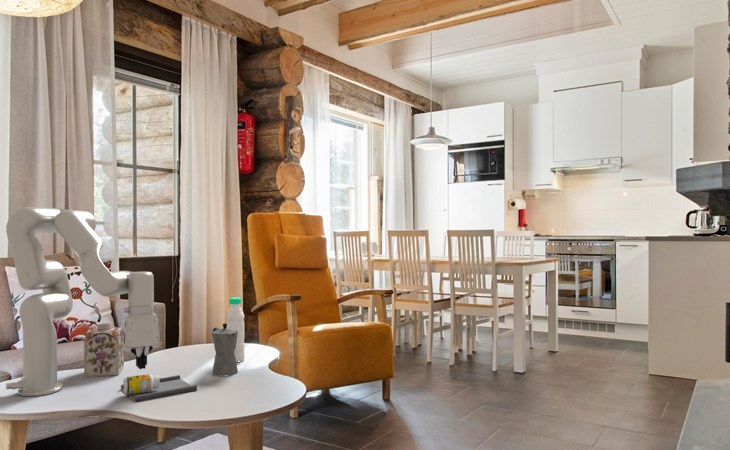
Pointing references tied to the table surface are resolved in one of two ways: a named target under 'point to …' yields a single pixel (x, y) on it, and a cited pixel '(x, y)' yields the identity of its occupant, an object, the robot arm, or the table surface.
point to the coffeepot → (224, 350)
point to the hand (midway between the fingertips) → (141, 367)
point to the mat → (165, 389)
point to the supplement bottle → (140, 384)
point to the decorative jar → (103, 351)
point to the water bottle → (237, 326)
